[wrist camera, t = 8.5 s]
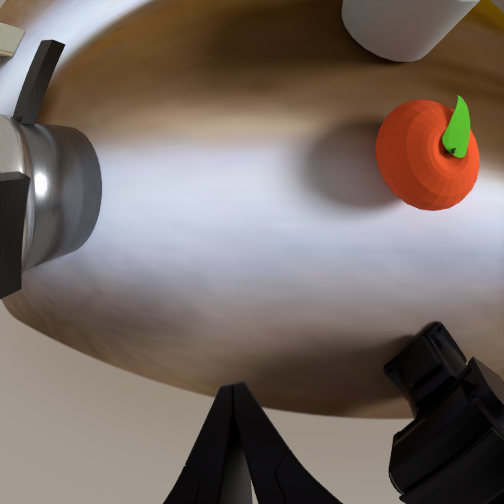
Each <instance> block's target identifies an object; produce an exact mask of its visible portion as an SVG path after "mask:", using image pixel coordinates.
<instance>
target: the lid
mask: <svg viewBox="0 0 504 504" xmlns="http://www.w3.org/2000/svg"><path fill="white" fill-rule="evenodd" d="M34 213H35V196H34V178H33V169H32V162H31V156H30V151H29V147H28V143H27V140H26V137H25V134H24V132H23V130H22V128H21V126H20V124H19V123H18V122H17V121H16V120H15V119H14V118H13V117H11V116H9V115H2V114H0V299H2V298H4V297H6V296H8V295H10V294H12V293H14V292H16V291H18V290H20V289H21V274H22V273H23V271H24V269H25V267H26V264H27V262H28V258H29V255H30V250H31V246H32V239H33V231H34Z"/></svg>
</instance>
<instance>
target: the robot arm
mask: <svg viewBox="0 0 504 504" xmlns="http://www.w3.org/2000/svg"><path fill="white" fill-rule="evenodd" d="M438 327H440V328H439V329H438V330H437V328H438ZM466 362H467V359H466V357H465V356H464V354H463V353H462V351H461V350H460V348H459V347H458V345H457V344H456V342H455V341H454V340H453V338H452V337H451V335H450V334H449V332H448V331H447V330H446V328H445V327H444V325H443V324H442V323H441V322H436V323H435V324H434V325H433V326H432V327H431V328H429V329H428V330H427V331H426V332H425V333H424V334H423V335H422V336H421V337H419V338H418V339H417V340H416V341H415V342H414V343H412V344H411V345H410V346H409V347H408V348H406V349H405V350H404V351H403V352H402V353H400V354H399V355H398V356H397V357H395V358H394V359H393V360H392V361H390V362H389V363H388V364H387V365H385V366H384V373H385V374H386V375H387V376H388V377H389V378H390V379H391V380H392V381H393V382H394V383H395V384H396V385H397V386H398V387H399V388H400V389H401V390H402V391H403V392H404V393H405V394H406V397H407V399H408V402H409V405H410V408H411V411H412V414H413V417H414V420H413V421H412V422H411V423H410V424H409V425H407V426H406V427H405V428H404V429H403V430H401V431H399V432H397V433H396V434H395V435H394V437H393V444H392V451H391V457H390V463H389V478H390V480H391V483H392V484H393V486H394V488H395V489H396V490H397V491H398V492H399V493H400V494H402V495H401V496H400V497H399V499H400V500H401V501H402V502H404V503H406V504H504V381H503V380H502V379H501V378H500V376H499V375H497V374H496V373H495V372H493V371H492V370H491V369H489V368H488V367H487V366H485V365H484V364H483V363H481V362H480V361H479V360H477V359H476V358H474V357H472V358H471V360H470V361H469V362H468V363H469V364H468V365H466ZM389 368H391V369H390V370H388V369H389ZM185 465H186V466H184V467H183V470H182V472H181V474H180V476H179V478H178V480H177V482H176V484H175V485H174V487H173V489H172V490H171V492H170V493H169V495H168V497H167V498H166V500H165V501H164V503H163V504H253V503H252V489H251V480H252V484H253V487H254V491H255V494H256V497H257V500H258V504H343V503H342V502H340V501H339V500H338V499H337V498H336V497H334V496H333V495H332V494H331V493H330V492H329V491H328V490H327V489H326V488H324V487H323V486H322V485H321V484H320V483H319V482H318V481H317V480H316V479H315V478H314V477H313V476H312V475H311V474H310V473H309V472H308V471H307V470H306V469H305V468H304V467H303V466H302V464H301V463H300V462H299V461H298V459H297V458H296V457H295V456H294V454H293V453H292V451H291V450H290V449H289V447H288V446H287V445H286V443H285V442H284V440H283V439H282V437H281V436H280V435H279V433H278V431H277V430H276V428H275V427H274V426H273V424H272V423H271V421H270V420H269V418H268V417H267V415H266V414H265V412H264V411H263V409H262V407H261V406H260V404H259V403H258V401H257V400H256V398H255V397H254V395H253V394H252V392H251V390H250V389H249V387H248V386H247V384H246V383H245V382H244V381H241V382H237V383H234V384H227V385H223V386H221V387H220V389H219V391H218V393H217V395H216V398H215V400H214V402H213V404H212V407H211V409H210V411H209V413H208V415H207V418H206V420H205V422H204V424H203V427H202V429H201V431H200V433H199V435H198V438H197V440H196V442H195V444H194V446H193V448H192V451H191V453H190V455H189V457H188V459H187V461H186V463H185Z"/></svg>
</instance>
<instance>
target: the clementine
mask: <svg viewBox="0 0 504 504" xmlns="http://www.w3.org/2000/svg"><path fill="white" fill-rule="evenodd" d="M455 96H458V101H457V105H456V109H455V111H454V110H452V109H450V108H449V107H447V106H445V105H443V104H440V103H438V102H434V101H429V100H414V101H410V102H407V103H405V104H403V105H400V106H398V107H396V108H395V109H394V110H393V111H392V112H391V113H390V114H388V115H387V117H386V119H385V121H384V122H383V124H382V126H381V127H380V129H379V132H378V136H377V140H376V159H377V163H378V168H379V171H380V173H381V175H382V177H383V179H384V181H385V183H386V184H387V185H388V187H389V188H390V189H391V191H392V192H393V193H394V194H395V195H397V196H398V197H399V198H400V199H402V200H403V201H404V202H406V203H407V204H409V205H411V206H414V207H416V208H418V209H422V210H431V211H435V210H442V209H447V208H450V207H452V206H454V205H456V204H458V203H459V202H460V201H462V200H463V199H464V198H465V197H466V195H467V194H468V193H469V192H470V191H471V190H472V188H473V186H474V184H475V182H476V180H477V175H478V171H479V152H478V147H477V143H476V140H475V138H474V135H473V133H472V131H471V129H470V118H469V113H468V109H467V105H466V103H465V102H464V100H463V99H462V98H461V97H460V96H459V95H455Z"/></svg>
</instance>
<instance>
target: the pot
mask: <svg viewBox="0 0 504 504" xmlns="http://www.w3.org/2000/svg"><path fill="white" fill-rule="evenodd" d="M64 47H65V44H63V43H60V42H58V41H55V40H42V41H41V43H40V45H39V47H38V50H37V52H36V54H35V56H34V59H33V61H32V63H31V66H30V68H29V71H28V73H27V76H26V78H25V81H24V84H23V87H22V90H21V92H20V95H19V98H18V101H17V105H16V108H15V111H14V115H13V118H14V119H15V120H16V121H17V122H18V123H19V124H20V126H21V128H22V130H23V132H24V134H25V137H26V140H27V143H28V147H29V151H30V156H31V162H32V169H33V178H34V196H35V213H34V231H33V239H32V246H31V250H30V255H29V258H28V262H27V264H26V267H25V269H24V270H27V269H29V268H32V267H34V266H37V265H39V264H42V263H44V262H47V261H49V260H52V259H54V258H57V257H60V256H62V255H65V254H68V253H70V252H73V251H75V250H77V249H78V248H80V247H81V246H82V245H83V244H84V243H85V242H86V241H87V240H88V238H89V237H90V235H91V233H92V231H93V229H94V227H95V225H96V222H97V219H98V215H99V211H100V205H101V197H102V180H101V171H100V165H99V162H98V158H97V155H96V152H95V150H94V148H93V146H92V144H91V142H90V141H89V140H88V138H87V137H86V136H85V135H84V134H83V133H82V132H80V131H79V130H77V129H75V128H72V127H66V126H58V125H49V124H39V123H36V120H37V117H38V113H39V110H40V107H41V104H42V101H43V98H44V95H45V92H46V90H47V87H48V84H49V82H50V79H51V77H52V74H53V72H54V69H55V67H56V65H57V62H58V60H59V58H60V55H61V53H62V51H63V49H64Z"/></svg>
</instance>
